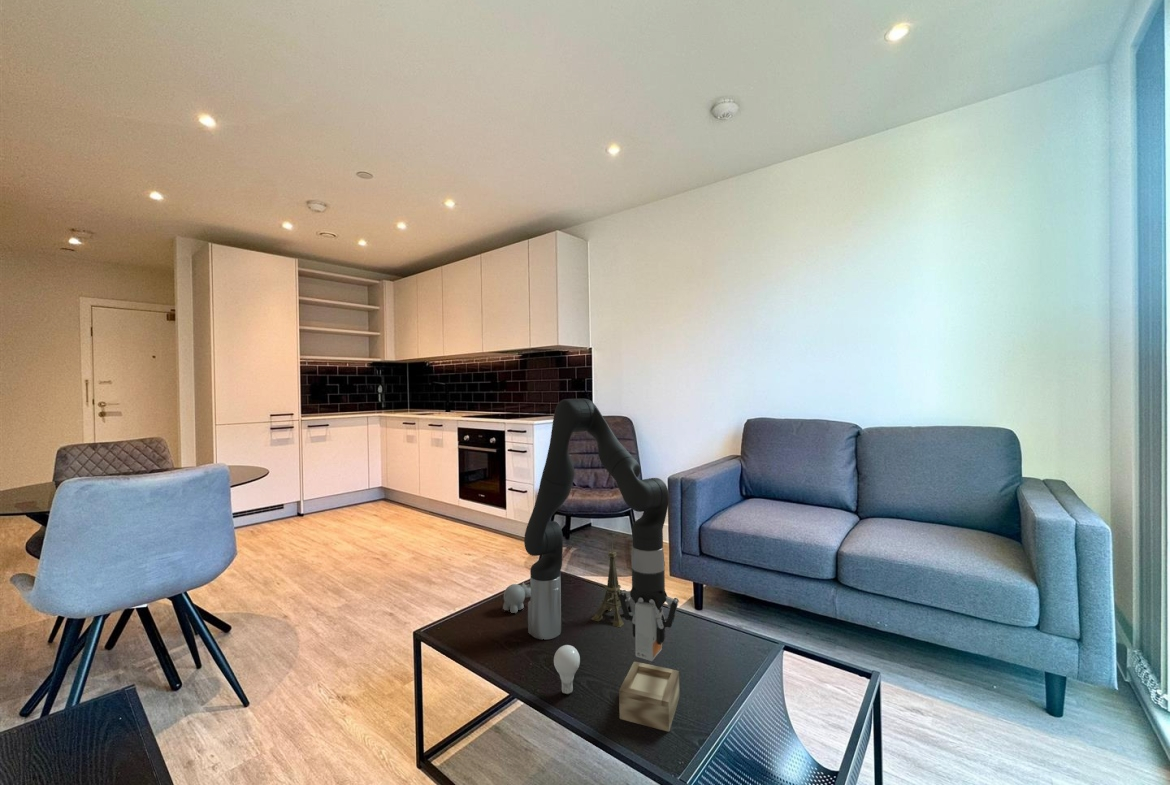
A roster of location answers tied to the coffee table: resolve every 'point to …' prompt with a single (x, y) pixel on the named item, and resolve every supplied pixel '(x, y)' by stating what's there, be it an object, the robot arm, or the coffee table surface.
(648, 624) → the skincare box
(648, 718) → the wooden box
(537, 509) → the robot arm
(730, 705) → the coffee table surface
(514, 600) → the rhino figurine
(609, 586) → the eiffel tower
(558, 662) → the lightbulb
